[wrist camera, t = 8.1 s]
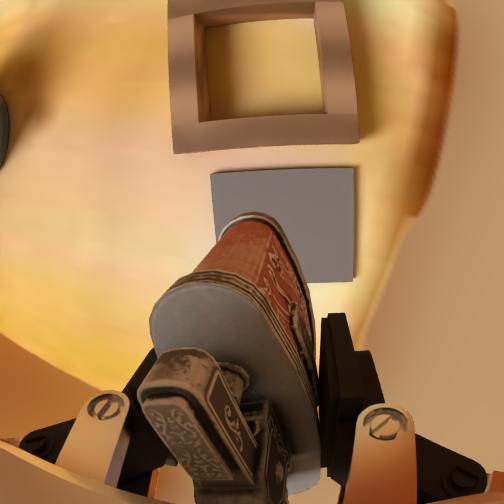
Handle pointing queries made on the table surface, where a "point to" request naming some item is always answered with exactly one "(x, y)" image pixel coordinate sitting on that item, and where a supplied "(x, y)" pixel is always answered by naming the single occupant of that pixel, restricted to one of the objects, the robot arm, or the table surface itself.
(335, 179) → the charcoal mat
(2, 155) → the canister
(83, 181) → the table surface
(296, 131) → the frame
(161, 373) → the lighter
